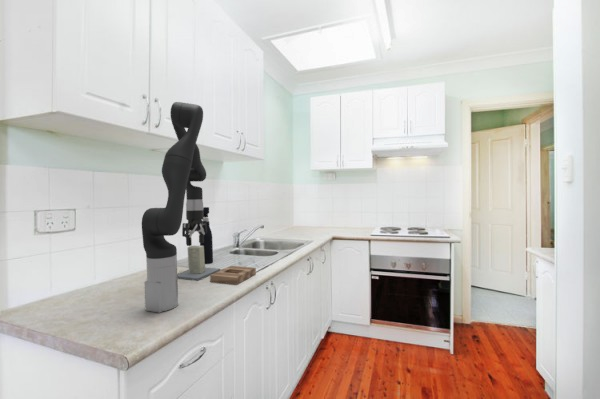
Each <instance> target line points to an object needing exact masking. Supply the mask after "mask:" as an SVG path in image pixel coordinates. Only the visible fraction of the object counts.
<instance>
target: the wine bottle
mask: <svg viewBox="0 0 600 399" xmlns="http://www.w3.org/2000/svg"><path fill="white" fill-rule="evenodd" d="M209 214H210V207H207V206H203V217H204V218H203V219H202V221H207V233H205V234H204V243H199V246H204V259H205V265H208V264H212V263H213V264H214V255H213V254H214V252H213V248H214V247H213V233H212V229H211V227H210V221H209V220H210V219H209ZM204 230H205V228H204Z"/></svg>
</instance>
